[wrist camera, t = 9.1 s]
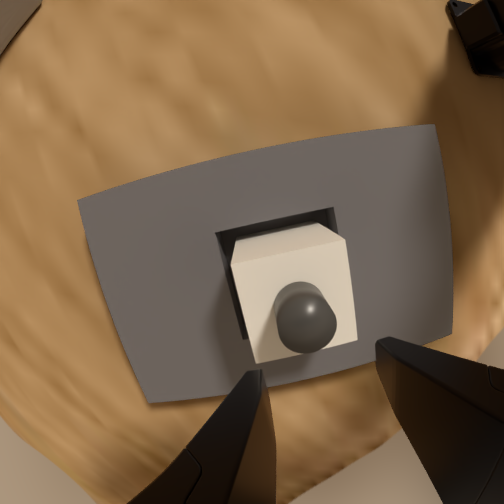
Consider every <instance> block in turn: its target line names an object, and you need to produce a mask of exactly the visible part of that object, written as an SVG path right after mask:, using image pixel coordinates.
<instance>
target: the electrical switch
mask: <svg viewBox="0 0 504 504" xmlns="http://www.w3.org/2000/svg"><path fill="white" fill-rule="evenodd" d="M41 2H42V0H0V55H1V53H2V52H3V50H4V49H5V47H6V46H7V45H8V43H9V42H10V41H11V39H12V38H13V37H14V35H15V34H16V33H17V31H18V30H19V29H20V28H21V26H22V25H23V24H24V23H25V21H26V20H27V19H28V18H29V17H30V15H31V14H32V13H33V12H34V11H35V10H36V8H37V7H38V6H39V5H40V4H41Z"/></svg>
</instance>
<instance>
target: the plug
mask: <svg viewBox="0 0 504 504" xmlns="http://www.w3.org/2000/svg"><path fill="white" fill-rule="evenodd" d="M231 268H232V272H233V276H234V280H235V284H236V288H237V292H238V296H239V300H240V304H241V308H242V312H243V316H244V320H245V324H246V327H247V331H248V335H249V339H250V343H251V347H252V350H253V354H254V358H255V362H256V364H257V363H262V362H268V361H272V360H277V359H282V358H287V357H291V356H296V355H300V354H308V353H313V352H316V351H319V350H321V349H325V348H329V347H333V346H337V345H341V344H345V343H349V342H352V341H356V340H358V338H357V328H356V318H355V309H354V300H353V292H352V284H351V276H350V269H349V262H348V255H347V248H346V242H345V239H344V238H342V237H341V236H339V235H337V234H336V233H334V232H332V231H331V230H329V229H328V228H326V227H324V226H323V225H321V224H319V223H318V222H316V221H314V220H313V221H309V222H304V223H299V224H295V225H290V226H285V227H281V228H276V229H272V230H267V231H263V232H258V233H254V234H249V235H244V236H240V237H237V238H236V242H235V247H234V252H233V256H232V261H231Z"/></svg>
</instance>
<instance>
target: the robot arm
mask: <svg viewBox="0 0 504 504" xmlns="http://www.w3.org/2000/svg"><path fill="white" fill-rule="evenodd" d="M447 5H448V7H449V10H450V12H451V14H452V16H453V19H454V21H455V23H456V26H457V28H458V30H459V33H460V35H461V38H462V40H463V43H464V46H465V48H466V51H467V54H468V57H469V60H470V63H471V66H472V69H473V71H474V72H475V74H477V75H479V76H489V77H498V78H504V0H480V1H478V2H477V3H475V4H470V3H466V2H462V1H457V0H449V1H448V2H447ZM453 5H454V6H453ZM478 68H479V69H478ZM375 356H376V369H377V372H378V375H379V377H380V380H381V382H382V384H383V387H384V389H385V392H386V394H387V397H388V399H389V402H390V404H391V407H392V409H393V411H394V414H395V416H396V417H397V419H398V421H399V423H400V425H401V427H402V428H403V430H404V432H405V434H406V435H407V437H408V439H409V441H410V443H411V444H412V446H413V448H414V450H415V452H416V454H417V455H418V457H419V459H420V461H421V463H422V464H423V466H424V468H425V470H426V472H427V474H428V476H429V478H430V479H431V481H432V483H433V485H434V487H435V489H436V490H437V493H438V494H439V497H440V499H441V500H442V502H443V504H504V369H500V368H496V367H493V366H488V367H487V365H485V364H482V363H478V362H475V361H471V360H468V359H464V358H461V357H457V356H454V355H450V354H447V353H443V352H440V351H437V350H433V349H430V348H427V347H423V346H420V345H417V344H413V343H410V342H407V341H404V340H400V339H397V338H394V337H391V336H388V337H384V338H381V339H378V340H377V341H376V342H375ZM127 504H276V439H275V432H274V425H273V418H272V411H271V404H270V398H269V393H268V389H267V385H266V382H265V378H264V374H263V371H262V369H255V370H249V371H246V372H245V374H244V375H243V376H242V377H241V379H240V380H239V381H238V383H237V384H236V385H235V387H234V388H233V389H232V390H231V392H230V393H229V394H228V395H227V397H226V398H225V399H224V401H223V402H222V403H221V404H220V406H219V407H218V408H217V409H216V411H215V412H214V413H213V414H212V416H211V417H210V418H209V419H208V420H207V422H206V423H205V424H204V425H203V427H202V428H201V429H200V430H199V431H198V433H197V434H196V435H195V436H194V437H193V439H192V440H191V441H190V442H189V443H188V445H187V446H186V448H185V449H183V450H182V452H181V453H180V454H179V455H178V456H177V457H176V458H175V460H174V461H173V462H172V463H171V464H170V465H169V466H168V467H167V468H166V469H165V470H164V471H163V472H162V473H161V474H160V475H159V476H158V477H157V478H156V479H155V480H154V481H153V482H152V483H151V484H149V485H148V486H147V487H146V488H145V489H144V490H143V491H141V492H140V493H139V494H138V495H137V496H135V497H134V498H133V499H132V500H131V501H129V502H128V503H127Z"/></svg>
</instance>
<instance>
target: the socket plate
mask: <svg viewBox="0 0 504 504" xmlns="http://www.w3.org/2000/svg"><path fill="white" fill-rule="evenodd" d="M77 202H78V206H79V210H80V214H81V218H82V222H83V226H84V230H85V234H86V238H87V241H88V245H89V249H90V252H91V255H92V259H93V262H94V266H95V269H96V272H97V275H98V278H99V281H100V285H101V288H102V291H103V294H104V296H105V299H106V302H107V305H108V308H109V311H110V313H111V316H112V319H113V322H114V324H115V327H116V329H117V332H118V335H119V337H120V340H121V342H122V345H123V347H124V349H125V352H126V354H127V357H128V359H129V361H130V364H131V366H132V368H133V371H134V373H135V375H136V377H137V379H138V382H139V384H140V386H141V388H142V390H143V392H144V395H145V397H146V399H147V401H148V403H156V402H168V401H178V400H187V399H196V398H204V397H212V396H219V395H226V394H229V393H230V392H231V390H232V389H233V388H234V387H235V385H236V384H237V383H238V381H239V380H240V379H241V377H242V376H243V375H244V374H245V372H246V371H249V370H255V369H262V371H263V374H264V378H265V382H266V385H267V387H272V386H277V385H282V384H287V383H292V382H296V381H301V380H305V379H309V378H314V377H318V376H322V375H326V374H330V373H334V372H338V371H341V370H345V369H349V368H352V367H356V366H359V365H363V364H366V363H370V362H373V361H376V356H375V342H376V341H377V340H378V339H381V338H384V337H388V336H391V337H394V338H397V339H400V340H404V341H407V342H410V343H413V344H417V345H420V346H421V345H424V344H427V343H430V342H432V341H435V340H438V339H440V338H443V337H445V336H448V335H450V334H452V323H453V253H452V236H451V224H450V213H449V204H448V196H447V188H446V181H445V174H444V168H443V162H442V157H441V151H440V146H439V141H438V136H437V132H436V127H435V124H427V125H415V126H404V127H394V128H385V129H376V130H368V131H360V132H353V133H346V134H339V135H333V136H326V137H320V138H314V139H308V140H303V141H297V142H292V143H286V144H281V145H276V146H271V147H266V148H261V149H256V150H252V151H247V152H243V153H238V154H234V155H230V156H225V157H221V158H217V159H213V160H209V161H205V162H201V163H197V164H193V165H189V166H185V167H182V168H178V169H174V170H171V171H167V172H164V173H160V174H157V175H153V176H150V177H147V178H143V179H140V180H137V181H133V182H130V183H127V184H124V185H121V186H118V187H114V188H111V189H108V190H105V191H102V192H99V193H97V194H94V195H91V196H88V197H85V198H82V199H79V200H77ZM313 220H314V221H316V222H318V223H319V224H321V225H323V226H324V227H326V228H328V229H329V230H331V231H332V232H334V233H336V234H337V235H339V236H341V237H342V238H344V239H345V242H346V248H347V255H348V262H349V269H350V276H351V284H352V292H353V300H354V309H355V318H356V328H357V338H358V340H356V341H352V342H349V343H345V344H341V345H337V346H333V347H329V348H325V349H321V350H319V351H316V352H313V353H308V354H300V355H296V356H291V357H287V358H282V359H277V360H272V361H268V362H262V363H257V364H256V362H255V358H254V354H253V350H252V347H251V343H250V339H249V335H248V331H247V327H246V324H245V320H244V316H243V312H242V308H241V304H240V300H239V296H238V292H237V288H236V284H235V280H234V276H233V272H232V268H231V261H232V256H233V252H234V247H235V242H236V238H237V237H240V236H244V235H249V234H254V233H258V232H263V231H267V230H272V229H276V228H281V227H285V226H290V225H295V224H299V223H304V222H309V221H313Z"/></svg>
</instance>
